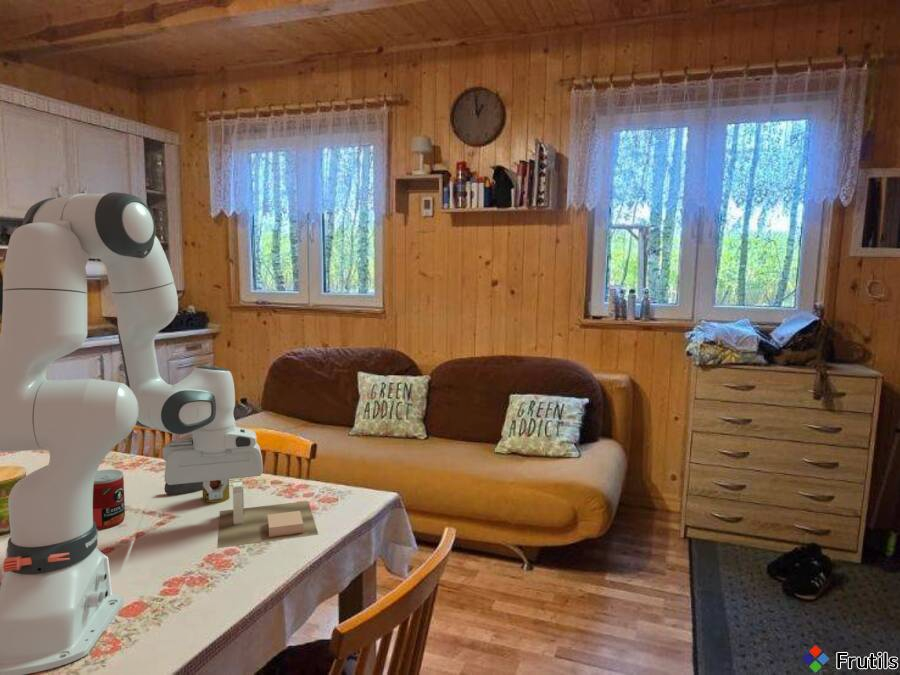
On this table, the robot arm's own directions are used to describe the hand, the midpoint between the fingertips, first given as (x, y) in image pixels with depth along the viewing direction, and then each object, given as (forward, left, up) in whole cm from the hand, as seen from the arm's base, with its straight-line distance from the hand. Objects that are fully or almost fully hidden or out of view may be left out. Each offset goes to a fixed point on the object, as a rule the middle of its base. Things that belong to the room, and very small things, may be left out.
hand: (216, 498), depth 129 cm
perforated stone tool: (+22, +6, -6) cm, 24 cm away
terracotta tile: (-9, -11, -4) cm, 15 cm away
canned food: (+9, +23, -6) cm, 26 cm away
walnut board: (-5, -11, -6) cm, 13 cm away
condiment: (+14, 0, -6) cm, 15 cm away
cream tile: (0, -5, -5) cm, 7 cm away
